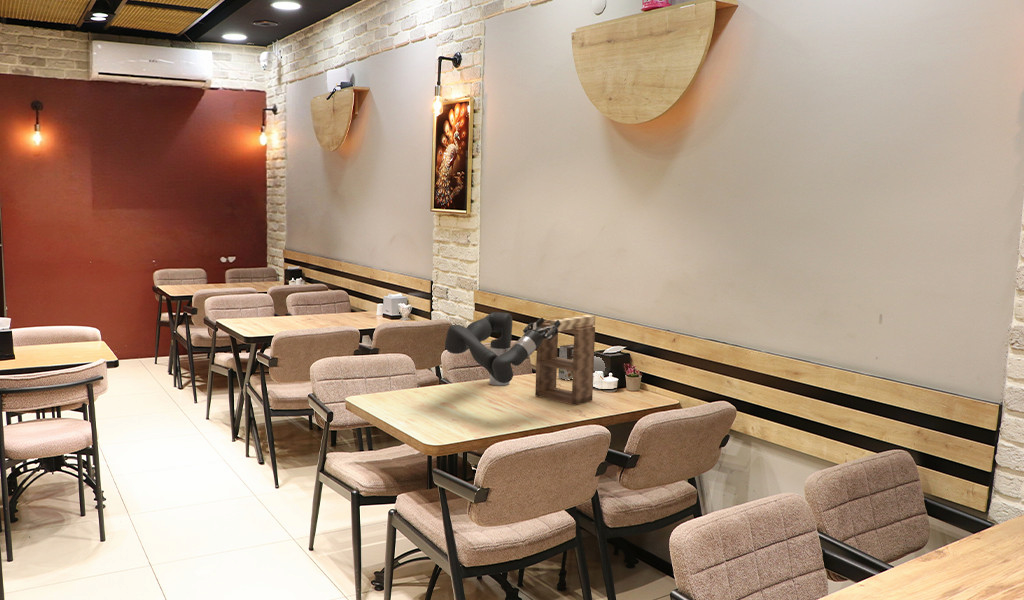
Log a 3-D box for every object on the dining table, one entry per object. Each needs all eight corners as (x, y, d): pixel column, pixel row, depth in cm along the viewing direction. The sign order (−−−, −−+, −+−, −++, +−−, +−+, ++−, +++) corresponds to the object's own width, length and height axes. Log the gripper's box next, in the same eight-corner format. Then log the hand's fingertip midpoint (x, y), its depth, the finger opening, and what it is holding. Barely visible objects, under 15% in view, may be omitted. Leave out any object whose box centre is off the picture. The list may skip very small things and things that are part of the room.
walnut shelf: (575, 405, 332) (578, 327, 328) (535, 395, 346) (537, 321, 342) (592, 400, 341) (595, 324, 337) (552, 391, 355) (554, 318, 351)
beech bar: (557, 331, 322) (557, 321, 322) (549, 330, 325) (550, 320, 325) (595, 325, 342) (595, 315, 341) (587, 323, 344) (587, 314, 344)
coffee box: (567, 381, 376) (568, 347, 374) (557, 378, 381) (559, 345, 379) (580, 378, 382) (582, 345, 380) (571, 376, 387) (572, 343, 385)
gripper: (538, 339, 306) (562, 315, 315) (511, 334, 315) (534, 311, 325) (544, 354, 309) (567, 330, 319) (517, 349, 319) (540, 325, 328)
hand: (550, 320), depth 322 cm, fingers open, 8 cm apart
